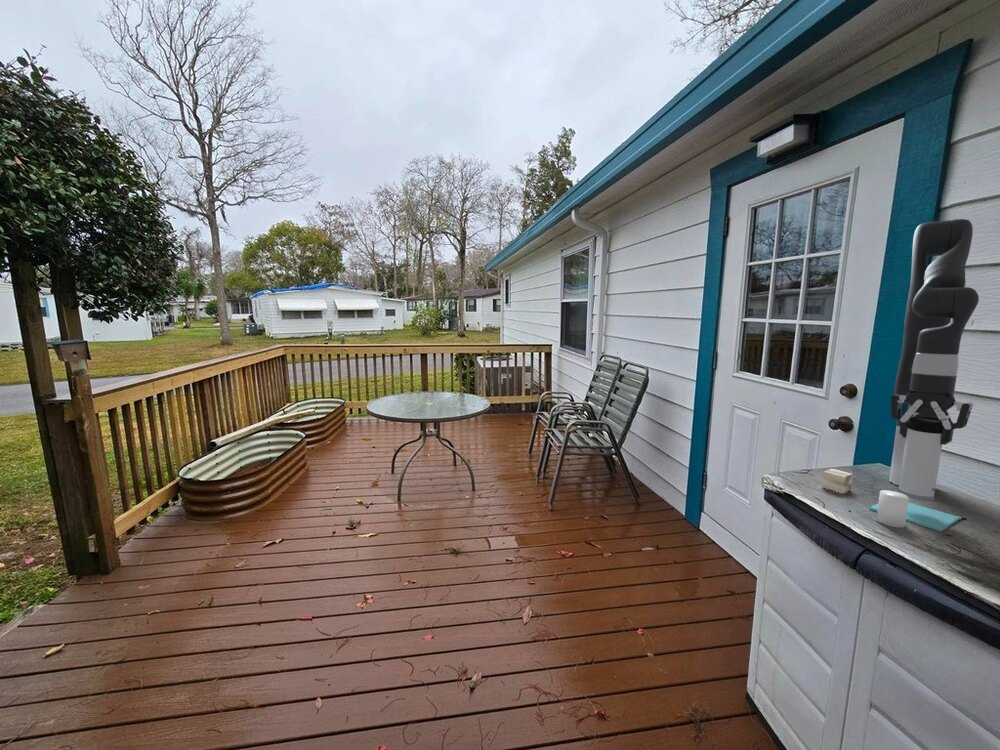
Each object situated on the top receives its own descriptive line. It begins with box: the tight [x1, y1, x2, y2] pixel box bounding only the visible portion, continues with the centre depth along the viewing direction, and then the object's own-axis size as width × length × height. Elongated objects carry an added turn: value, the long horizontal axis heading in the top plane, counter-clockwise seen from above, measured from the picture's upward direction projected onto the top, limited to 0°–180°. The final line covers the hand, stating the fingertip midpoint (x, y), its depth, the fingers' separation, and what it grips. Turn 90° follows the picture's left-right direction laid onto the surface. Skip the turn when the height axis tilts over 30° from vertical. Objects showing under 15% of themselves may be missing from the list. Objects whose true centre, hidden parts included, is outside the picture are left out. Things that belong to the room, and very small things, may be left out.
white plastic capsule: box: [876, 489, 910, 529], centre depth 99 cm, size 5×5×7 cm
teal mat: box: [869, 502, 961, 533], centre depth 104 cm, size 13×13×1 cm
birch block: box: [821, 468, 854, 495], centre depth 120 cm, size 5×5×5 cm
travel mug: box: [897, 417, 944, 502], centre depth 103 cm, size 6×7×20 cm
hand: (924, 440), depth 102 cm, fingers closed on travel mug, 6 cm apart
